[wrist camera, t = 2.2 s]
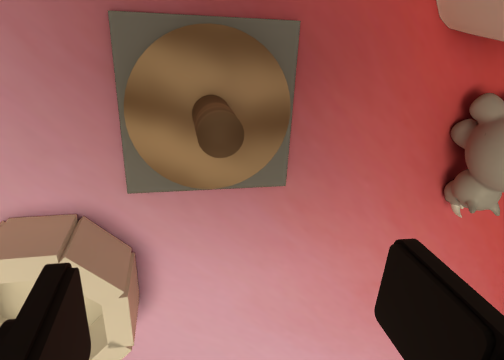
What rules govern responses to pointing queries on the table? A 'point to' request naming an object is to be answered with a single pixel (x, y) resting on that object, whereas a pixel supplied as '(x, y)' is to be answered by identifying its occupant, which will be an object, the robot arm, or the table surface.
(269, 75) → the lid
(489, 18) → the foam cup
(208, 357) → the table surface
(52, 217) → the bowl
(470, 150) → the hippopotamus figurine
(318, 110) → the table surface
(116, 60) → the mat
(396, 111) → the table surface
